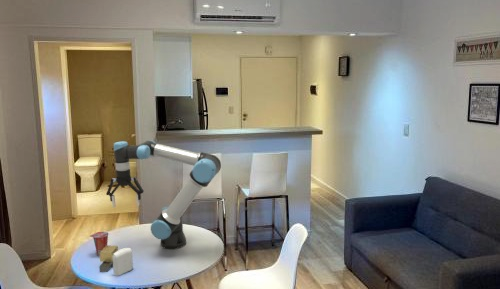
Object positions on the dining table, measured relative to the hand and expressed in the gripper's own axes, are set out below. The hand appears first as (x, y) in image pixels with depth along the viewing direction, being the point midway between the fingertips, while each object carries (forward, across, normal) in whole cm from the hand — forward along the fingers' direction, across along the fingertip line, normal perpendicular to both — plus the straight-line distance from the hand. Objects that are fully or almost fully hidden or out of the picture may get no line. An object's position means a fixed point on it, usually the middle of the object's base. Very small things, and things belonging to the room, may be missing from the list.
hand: (126, 206), depth 230 cm
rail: (+27, +8, +15) cm, 32 cm away
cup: (+27, +16, +4) cm, 31 cm away
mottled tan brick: (+27, +8, +15) cm, 32 cm away
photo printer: (+28, -2, +24) cm, 37 cm away
